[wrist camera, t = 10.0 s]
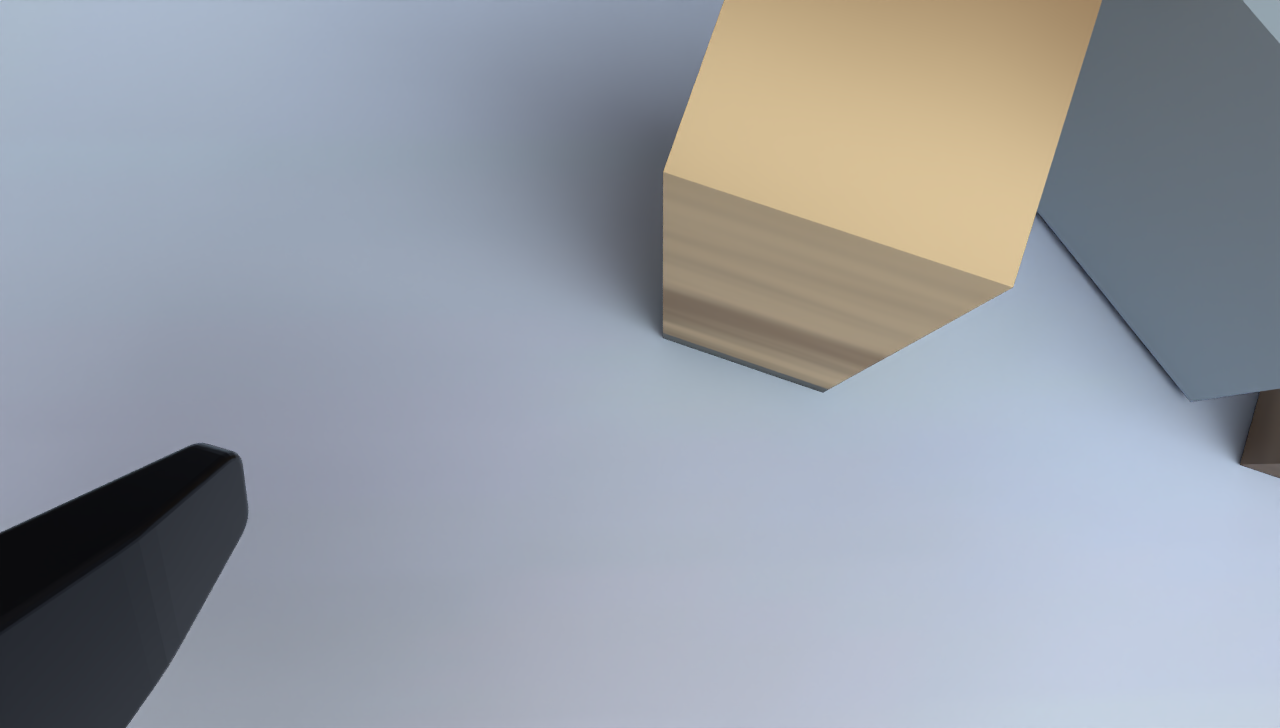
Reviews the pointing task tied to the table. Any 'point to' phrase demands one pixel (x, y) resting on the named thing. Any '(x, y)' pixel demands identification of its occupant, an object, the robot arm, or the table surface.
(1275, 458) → the partition wall
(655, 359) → the table surface
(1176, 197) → the door
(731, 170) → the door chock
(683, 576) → the table surface
